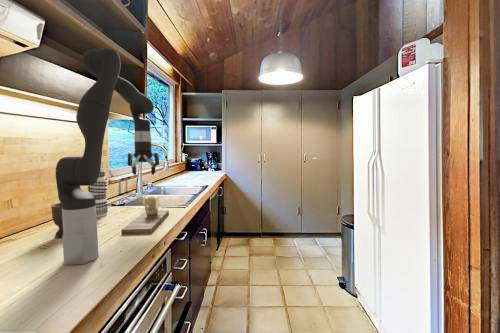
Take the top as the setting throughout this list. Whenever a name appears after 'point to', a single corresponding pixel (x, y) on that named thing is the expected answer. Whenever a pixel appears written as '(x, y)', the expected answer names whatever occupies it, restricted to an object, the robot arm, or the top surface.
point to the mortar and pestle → (58, 218)
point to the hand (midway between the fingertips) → (144, 174)
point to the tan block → (151, 203)
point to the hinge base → (145, 222)
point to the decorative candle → (100, 194)
